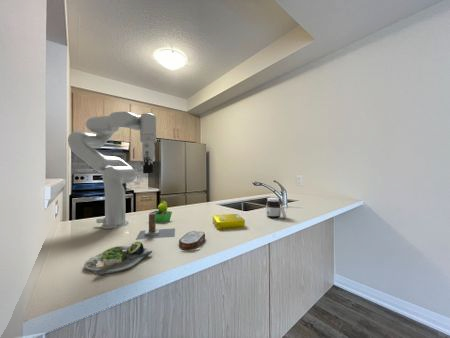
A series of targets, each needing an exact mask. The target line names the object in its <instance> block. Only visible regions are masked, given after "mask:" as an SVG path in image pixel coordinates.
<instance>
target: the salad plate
mask: <svg viewBox="0 0 450 338" xmlns="http://www.w3.org/2000/svg"><path fill="white" fill-rule="evenodd" d="M153 252H154V250H149V249H148V248H145V247H144V244H143V243H142V242H141V241H135V242H133V243H131V245H129V246H127V245H125V246H124V245H120V246H119V245H118V246H114V247H109V248H108V249H105V250H104V251H101V252H100V253H99V254H96V255H95V256H92V257H91V258H89V259H88V260H87V261H85V262H84V265H83V266H84V269H86V270H87V271H89V272H92V273H93V275H95V276H99V275H104V274H110V273H117V272H121V271H122V272H123V271H125V270H128V269H131V268H133V267H134V266H136V265H137V264H138V263H140V262H142V261H143V260H144V259H145V258H146V257H147V256H149V255H151V254H152V253H153ZM101 260H102V262H103V266H97V265H96V264H98V263H99V262H100V261H101ZM98 261H99V262H98Z"/></svg>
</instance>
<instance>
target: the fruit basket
mask: <svg viewBox="0 0 450 338" xmlns="http://www.w3.org/2000/svg"><path fill="white" fill-rule="evenodd" d="M150 213H155V220H156V223H166V222H169V221H171V217H172V214H173V211H168V203H167V202H166V201H165V200H162V201H161V202H160V203H159V204H158V205H157V210H154V211H151V212H150Z"/></svg>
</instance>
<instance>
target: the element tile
mask: <svg viewBox="0 0 450 338" xmlns="http://www.w3.org/2000/svg"><path fill="white" fill-rule="evenodd" d="M245 220H246V219H244V218H243V217H241V215H239V214H238V213H229V214H226V213H225V214H213V215H212V224H213V226H214V227H215V228H216V230H218V231H222V230H223V231H224V229H225V230H236V228H238V229H245V228H244V227H246V226H245V225H246V224H245V223H246V221H245Z"/></svg>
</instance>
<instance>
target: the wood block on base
mask: <svg viewBox="0 0 450 338" xmlns="http://www.w3.org/2000/svg"><path fill="white" fill-rule="evenodd" d="M156 224H157V222H156V220H155V213H151V212H149V213H148V229H146V231H145V236H153V235H159V232H160V229H161V228H156Z"/></svg>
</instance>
